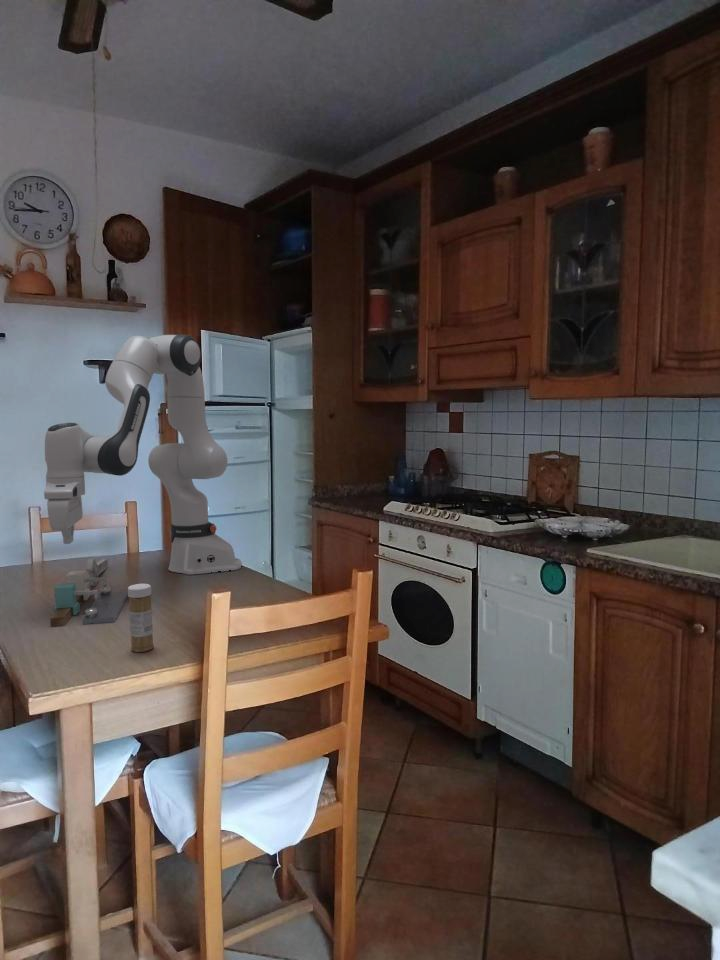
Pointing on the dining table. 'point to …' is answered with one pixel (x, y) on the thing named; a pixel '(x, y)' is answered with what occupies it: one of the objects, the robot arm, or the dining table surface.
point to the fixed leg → (83, 581)
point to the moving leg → (69, 597)
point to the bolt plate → (105, 606)
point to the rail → (63, 614)
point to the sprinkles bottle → (140, 617)
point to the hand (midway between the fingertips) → (68, 542)
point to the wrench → (95, 568)
